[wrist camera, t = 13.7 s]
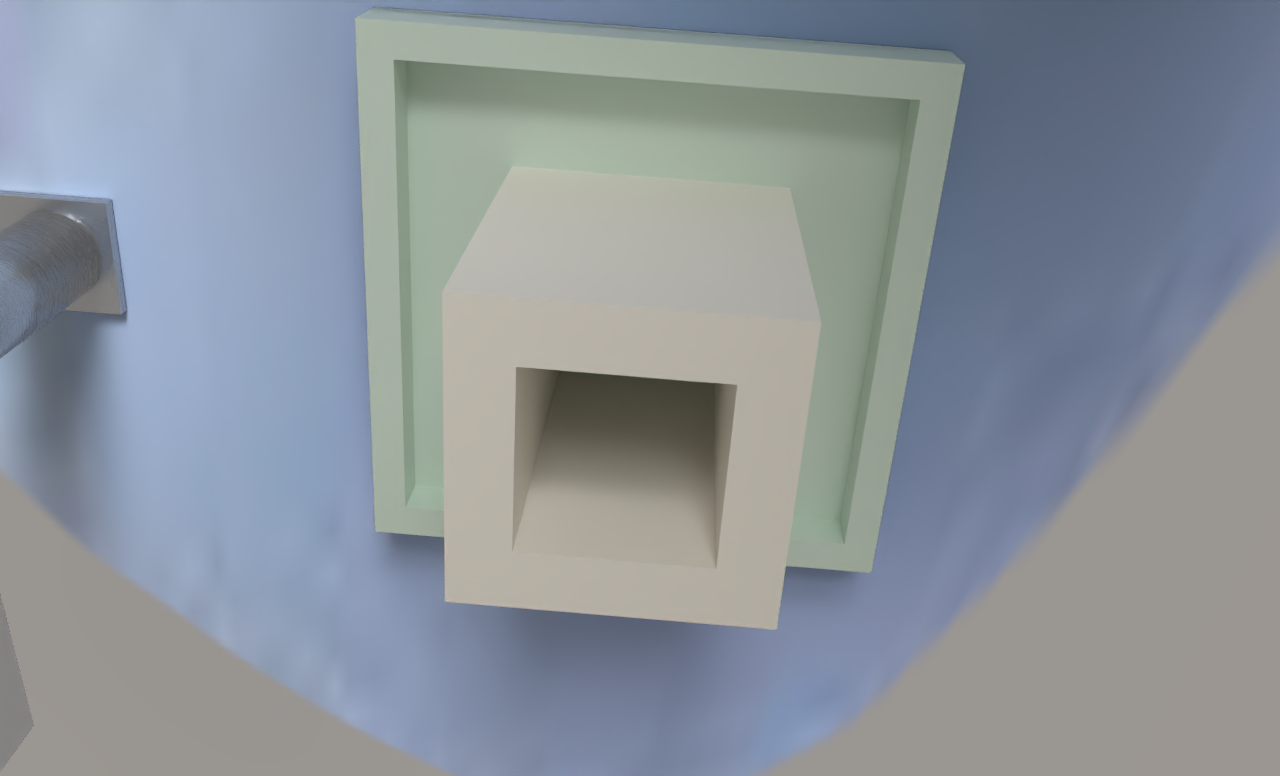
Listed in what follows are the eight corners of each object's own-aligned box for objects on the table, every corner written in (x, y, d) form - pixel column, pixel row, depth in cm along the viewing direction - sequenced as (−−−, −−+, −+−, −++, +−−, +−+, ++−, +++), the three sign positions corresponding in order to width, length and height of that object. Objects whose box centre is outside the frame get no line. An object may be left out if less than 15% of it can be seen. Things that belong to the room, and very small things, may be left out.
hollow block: (512, 165, 34) (442, 292, 25) (790, 187, 33) (821, 322, 24) (507, 412, 37) (444, 601, 28) (759, 433, 37) (776, 630, 28)
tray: (374, 6, 32) (354, 17, 31) (950, 51, 32) (965, 64, 30) (390, 499, 39) (375, 531, 38) (863, 538, 39) (871, 572, 37)
